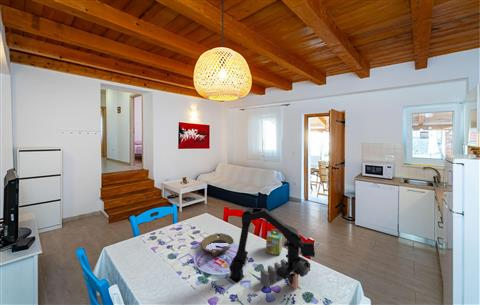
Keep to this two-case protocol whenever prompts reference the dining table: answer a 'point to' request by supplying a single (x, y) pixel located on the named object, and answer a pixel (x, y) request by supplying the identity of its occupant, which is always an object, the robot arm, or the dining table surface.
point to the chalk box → (274, 242)
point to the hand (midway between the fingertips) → (293, 282)
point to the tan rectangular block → (294, 281)
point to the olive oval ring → (214, 239)
